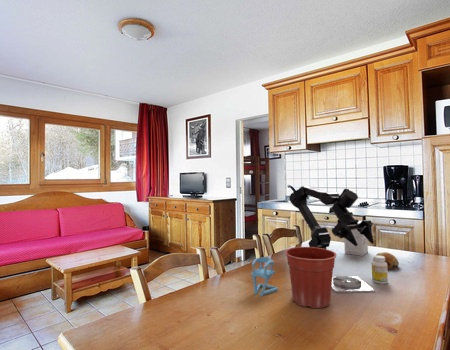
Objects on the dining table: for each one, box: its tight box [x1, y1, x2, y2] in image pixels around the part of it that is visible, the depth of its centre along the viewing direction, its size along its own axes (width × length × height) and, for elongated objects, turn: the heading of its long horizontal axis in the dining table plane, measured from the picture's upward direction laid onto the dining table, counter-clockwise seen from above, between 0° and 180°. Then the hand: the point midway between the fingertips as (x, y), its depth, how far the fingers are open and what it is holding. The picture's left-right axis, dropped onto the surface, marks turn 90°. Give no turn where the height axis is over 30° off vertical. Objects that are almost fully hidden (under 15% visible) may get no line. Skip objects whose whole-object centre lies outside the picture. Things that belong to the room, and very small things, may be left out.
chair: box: [250, 256, 279, 297], centre depth 103 cm, size 8×8×12 cm
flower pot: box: [284, 246, 337, 309], centre depth 94 cm, size 16×16×16 cm
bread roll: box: [372, 251, 400, 270], centre depth 128 cm, size 10×10×8 cm
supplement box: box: [343, 220, 369, 257], centre depth 151 cm, size 10×9×17 cm
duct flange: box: [331, 275, 376, 294], centre depth 107 cm, size 14×14×2 cm
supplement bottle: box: [371, 254, 389, 285], centre depth 109 cm, size 5×5×10 cm
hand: (364, 244), depth 115 cm, fingers open, 9 cm apart
